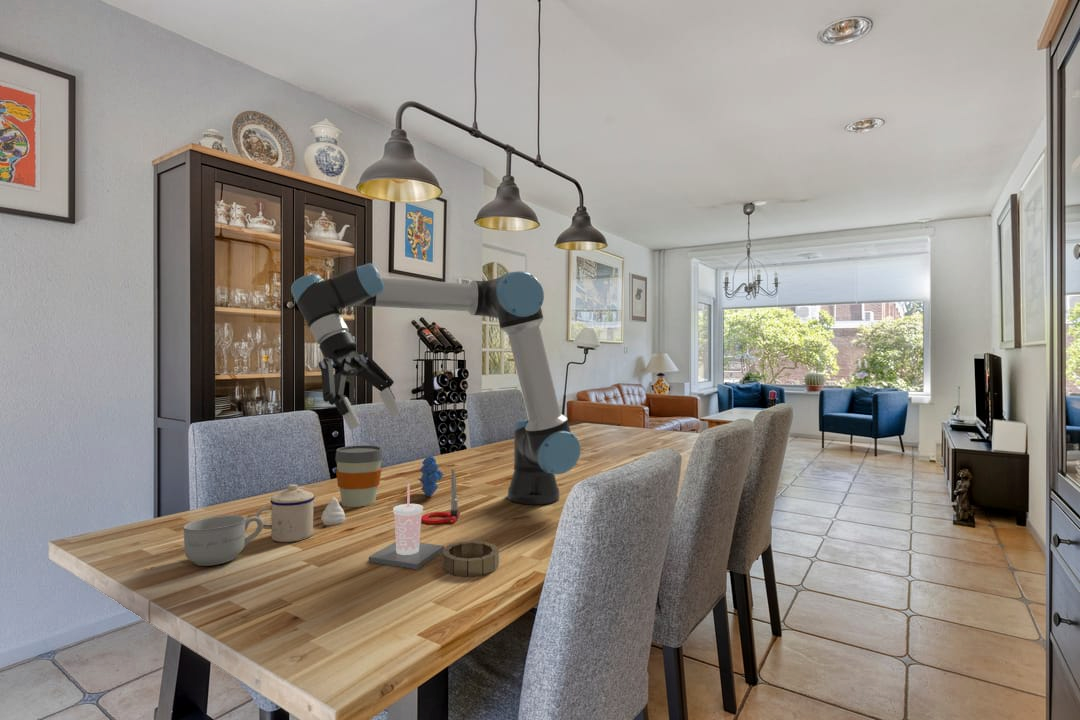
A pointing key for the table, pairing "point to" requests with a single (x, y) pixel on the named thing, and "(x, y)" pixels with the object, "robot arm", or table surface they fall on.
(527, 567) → the table surface
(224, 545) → the teacup
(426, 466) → the grapes
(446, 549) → the stone block ring
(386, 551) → the coaster
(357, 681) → the table surface
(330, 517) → the white meringue swirl
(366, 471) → the reusable coffee cup
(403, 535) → the beverage cup
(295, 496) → the teacup with lid
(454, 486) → the tow hook
